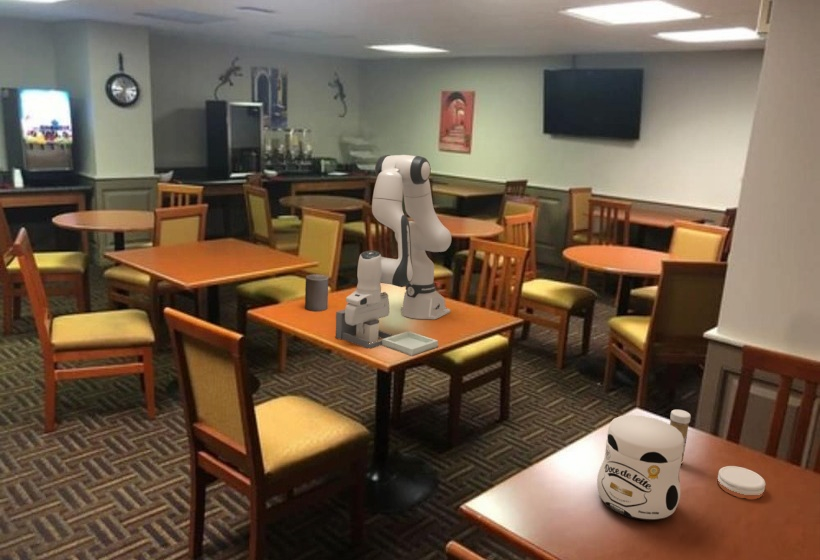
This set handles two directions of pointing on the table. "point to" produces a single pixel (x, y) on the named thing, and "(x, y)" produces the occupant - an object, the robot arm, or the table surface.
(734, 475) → the white round piece
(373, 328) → the block
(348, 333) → the bay
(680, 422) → the sprinkles bottle
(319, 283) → the pillar candle
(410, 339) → the tray
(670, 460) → the doce de leite jar
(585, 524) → the table surface
